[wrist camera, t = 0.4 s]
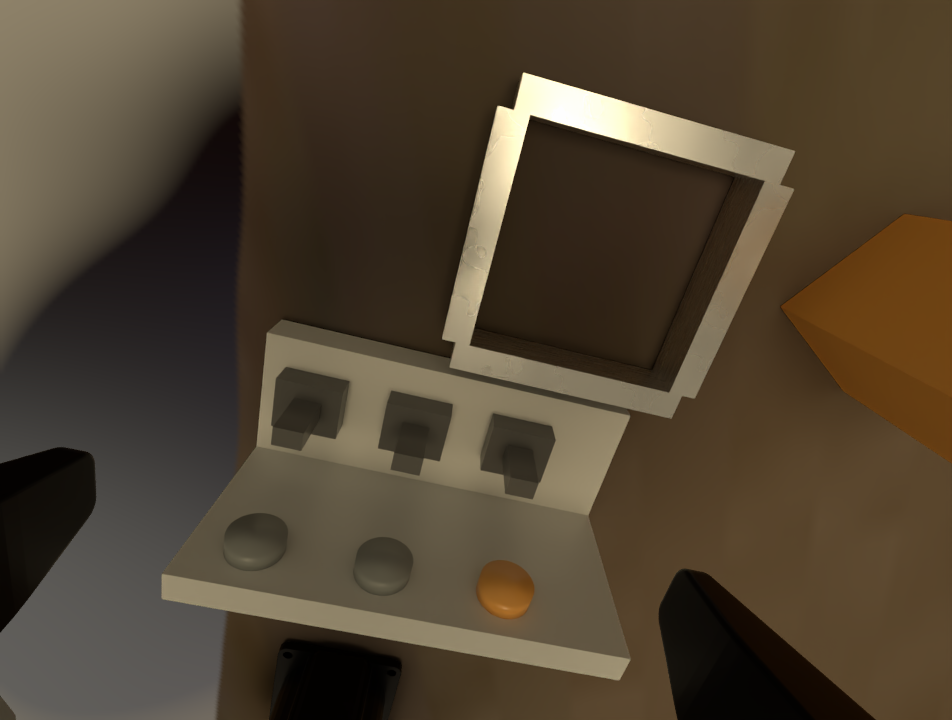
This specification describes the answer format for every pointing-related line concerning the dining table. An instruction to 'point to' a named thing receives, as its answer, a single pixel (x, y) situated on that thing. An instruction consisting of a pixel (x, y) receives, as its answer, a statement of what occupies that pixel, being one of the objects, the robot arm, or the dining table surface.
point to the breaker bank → (414, 508)
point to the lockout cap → (889, 326)
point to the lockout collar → (711, 286)
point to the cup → (6, 711)
